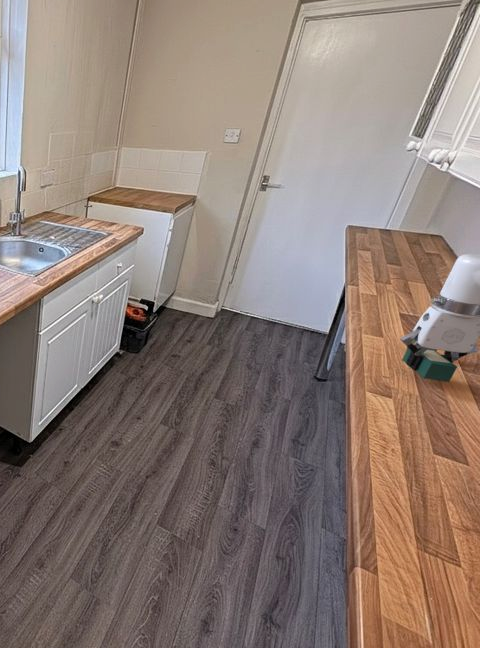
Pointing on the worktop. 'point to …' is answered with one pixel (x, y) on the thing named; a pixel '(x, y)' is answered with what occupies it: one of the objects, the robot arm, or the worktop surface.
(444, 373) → the tea packet
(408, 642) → the worktop surface
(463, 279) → the robot arm
